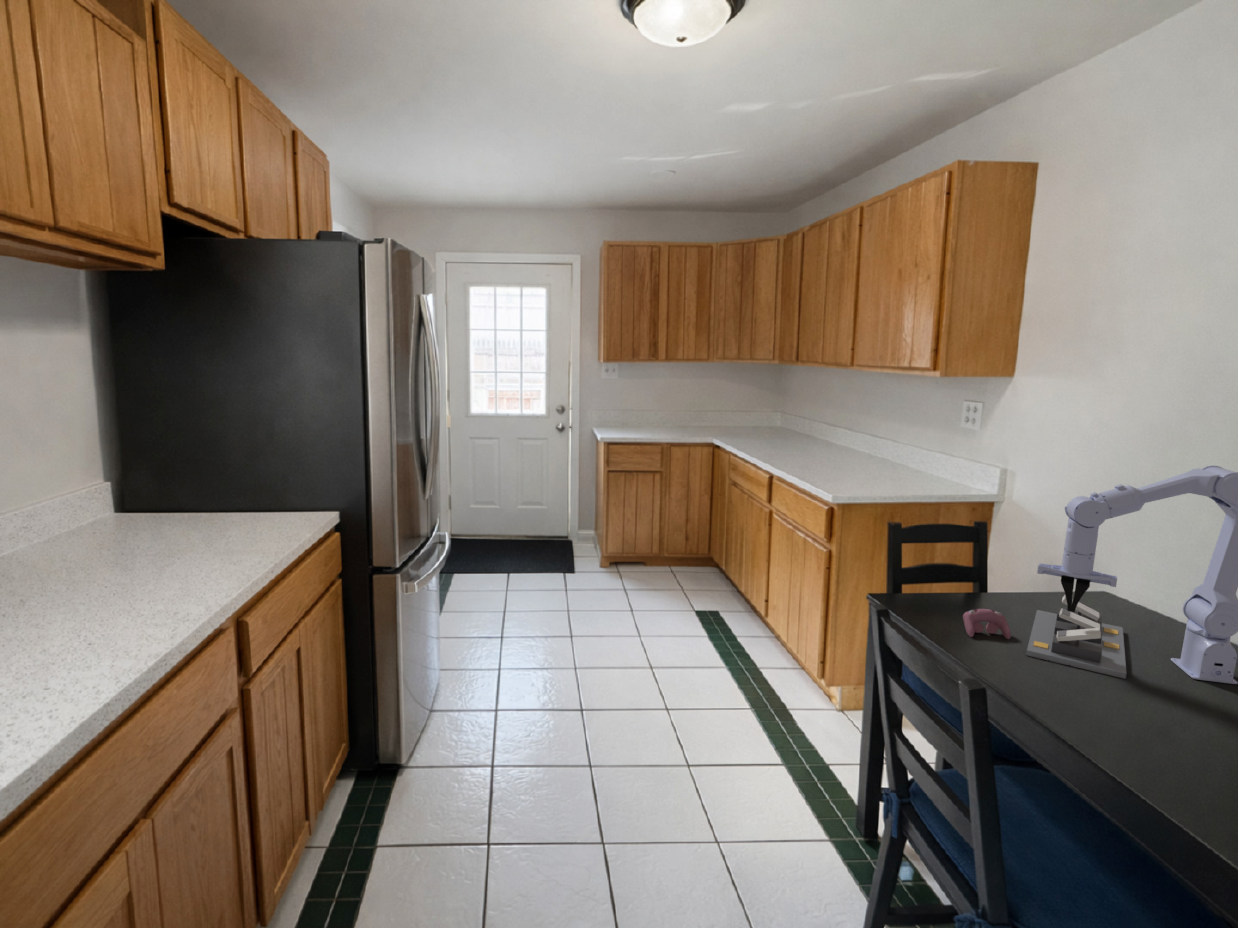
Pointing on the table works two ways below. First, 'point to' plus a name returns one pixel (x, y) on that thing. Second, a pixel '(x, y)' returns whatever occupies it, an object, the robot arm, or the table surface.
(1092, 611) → the rocker far
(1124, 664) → the switch board
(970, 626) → the video game controller
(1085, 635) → the rocker near
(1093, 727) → the table surface
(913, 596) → the table surface
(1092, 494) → the robot arm
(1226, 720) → the table surface
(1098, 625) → the rocker middle
